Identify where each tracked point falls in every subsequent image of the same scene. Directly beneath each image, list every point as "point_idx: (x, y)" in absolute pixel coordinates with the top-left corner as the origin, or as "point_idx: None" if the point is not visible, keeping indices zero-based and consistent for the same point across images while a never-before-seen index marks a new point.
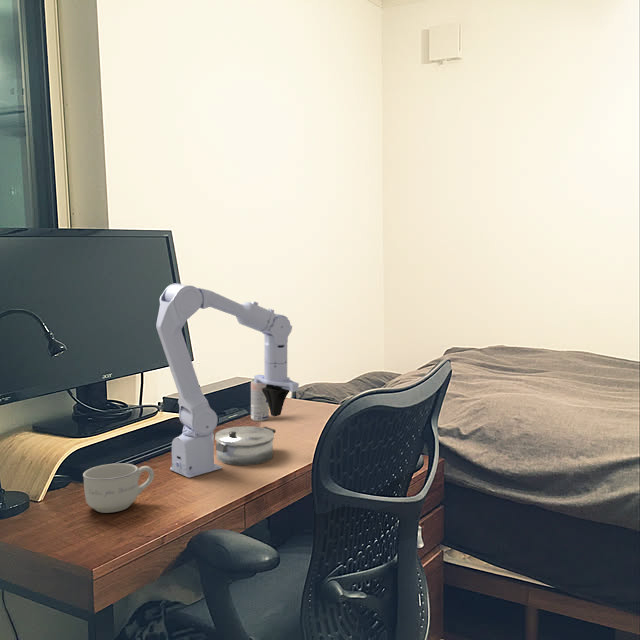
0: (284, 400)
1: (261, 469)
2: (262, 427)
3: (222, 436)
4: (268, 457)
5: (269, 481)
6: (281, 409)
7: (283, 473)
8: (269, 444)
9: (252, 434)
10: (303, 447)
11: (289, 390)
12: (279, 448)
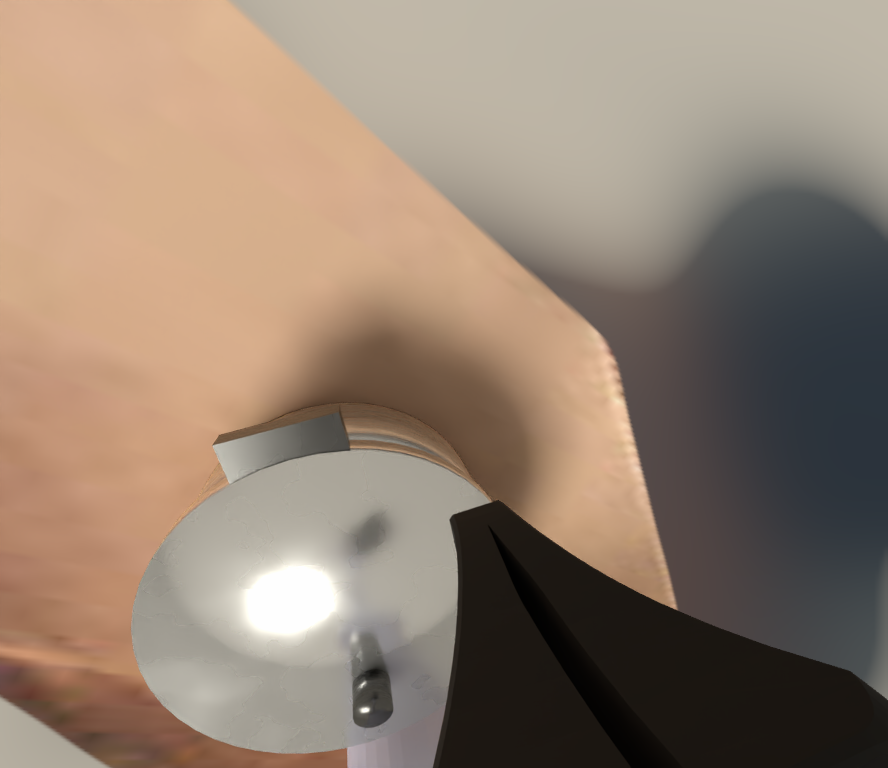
0: (623, 586)
1: (537, 519)
2: (226, 472)
3: (329, 724)
4: (463, 464)
5: (648, 533)
6: (529, 528)
7: (621, 464)
8: None
9: (377, 582)
10: (358, 181)
11: (876, 693)
12: (304, 325)
